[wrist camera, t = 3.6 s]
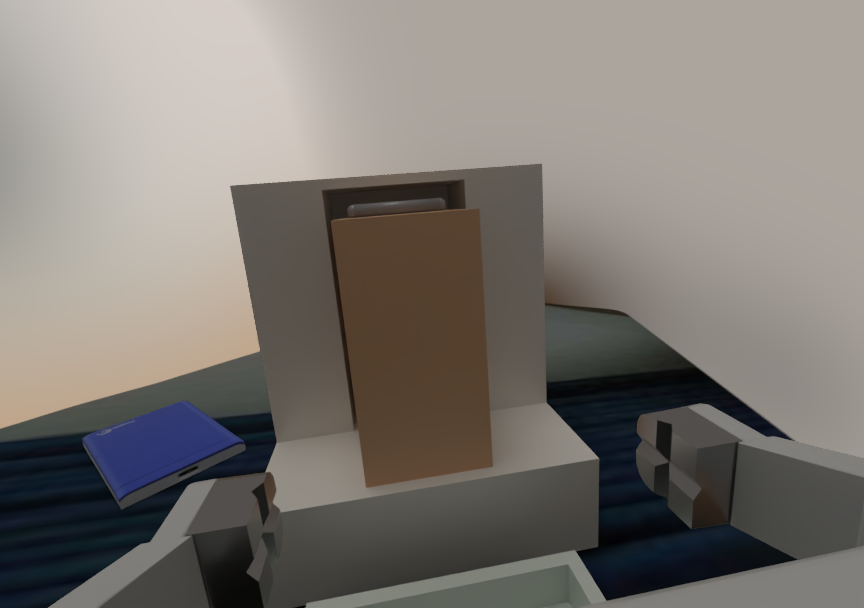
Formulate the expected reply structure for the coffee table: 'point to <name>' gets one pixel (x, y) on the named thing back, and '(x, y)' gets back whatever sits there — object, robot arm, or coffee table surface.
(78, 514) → the coffee table surface
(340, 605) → the tray
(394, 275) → the brown handled box
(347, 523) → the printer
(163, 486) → the hard drive
